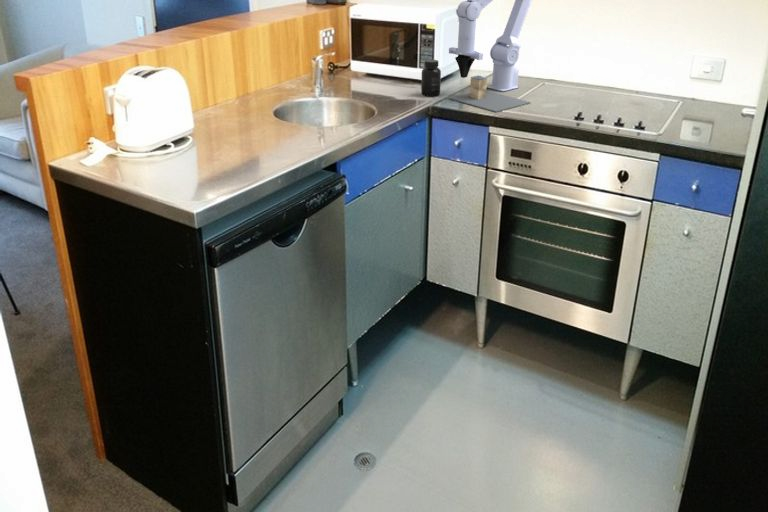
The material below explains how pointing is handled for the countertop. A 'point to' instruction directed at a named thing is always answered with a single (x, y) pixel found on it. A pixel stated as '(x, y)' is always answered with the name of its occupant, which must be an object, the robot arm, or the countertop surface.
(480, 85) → the beech block
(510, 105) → the rubber mat
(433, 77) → the supplement bottle
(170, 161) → the countertop surface
